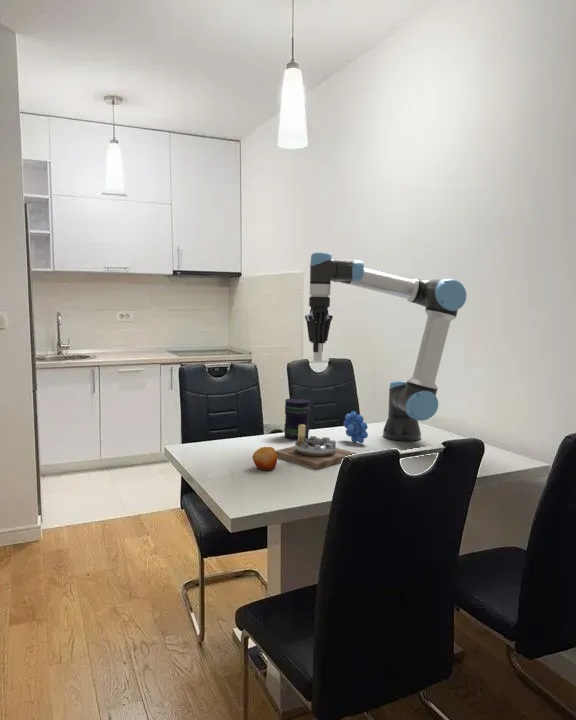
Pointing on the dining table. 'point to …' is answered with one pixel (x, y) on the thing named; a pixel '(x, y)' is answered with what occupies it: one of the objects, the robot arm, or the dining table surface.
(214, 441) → the dining table surface
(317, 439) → the crank wheel
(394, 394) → the robot arm
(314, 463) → the base plate
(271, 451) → the fruit
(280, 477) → the dining table surface
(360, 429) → the grapes
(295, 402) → the storage jar
